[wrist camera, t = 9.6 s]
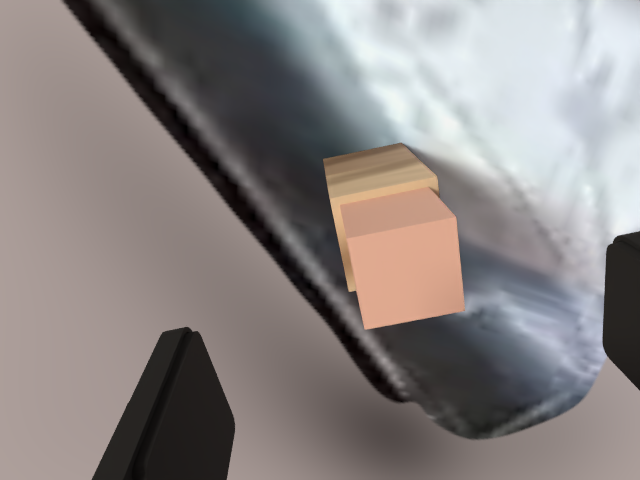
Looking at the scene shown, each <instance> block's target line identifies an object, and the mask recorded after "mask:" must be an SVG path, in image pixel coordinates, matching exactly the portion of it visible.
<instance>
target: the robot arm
mask: <svg viewBox="0 0 640 480" xmlns="http://www.w3.org/2000/svg"><path fill="white" fill-rule="evenodd" d="M603 347H604V350H605V353H606V354H607V356H608V357H609V359H610V360H611V361H612V362H613V363H614V364H615V365H616V366H617V367H618V368H619V369H620V370H621V371H622V372H623V373H624V374H625V376H627V378H628V379H629V380H630V381H631V382H632V383H633V384H634V385H635V386H636V387H637V388H638V389H639V390H640V231H639V232H634V233H629V234H625V235H620V236H617V237H616V238H615V239H614V241H613V244H610V245H609V246H608V247H607V251H606V272H605V295H604V318H603ZM234 433H235V422H234V417H233V414H232V411H231V409H230V406H229V404H228V401H227V399H226V397H225V394H224V392H223V389H222V387H221V384H220V382H219V379H218V377H217V374H216V372H215V369H214V367H213V364H212V362H211V359H210V357H209V354H208V352H207V349H206V347H205V345H204V342H203V339H202V337H201V335H200V334H199V332H198V331H195V332H192V330H191V329H190V328H189V327H184V328H179V329H175V330H169V331H165V332H163V333H162V334H161V336H160V338H159V340H158V342H157V344H156V346H155V348H154V351H153V353H152V355H151V357H150V359H149V361H148V363H147V365H146V368H145V370H144V372H143V374H142V376H141V378H140V381H139V382H138V385H137V387H136V389H135V391H134V393H133V395H132V397H131V399H130V401H129V403H128V404H127V406H126V409H125V411H124V413H123V415H122V417H121V419H120V421H119V423H118V425H117V428H116V430H115V432H114V434H113V436H112V438H111V440H110V442H109V444H108V447H107V449H106V451H105V453H104V455H103V457H102V459H101V461H100V464H99V466H98V468H97V470H96V472H95V474H94V476H93V478H92V480H227V475H228V468H229V462H230V457H231V451H232V445H233V439H234Z"/></svg>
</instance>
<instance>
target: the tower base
mask: <svg viewBox="0 0 640 480" xmlns="http://www.w3.org/2000/svg"><path fill="white" fill-rule="evenodd" d="M414 157H416V156H415V155H414V154H413V153H412V152H411V151H410V150H409V149H408V148H406V147H405V146H404V145H403V144H402V143H398V144H393V145H388V146H383V147H379V148H374V149H369V150H364V151H360V152H355V153H350V154H345V155H341V156H336V157H331V158H326V159H323V162H324V167H325V173H326V176H328V175H333V174H338V173H343V172H347V171H352V170H357V169H361V168H366V167H371V166H376V165H380V164H385V163H390V162H395V161H399V160H404V159H409V158H414Z"/></svg>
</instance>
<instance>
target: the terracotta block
mask: <svg viewBox="0 0 640 480" xmlns="http://www.w3.org/2000/svg"><path fill="white" fill-rule="evenodd" d="M340 209H341V215H342V220H343V225H344V230H345V235H346V240H347V245H348V250H349V255H350V260H351V266H352V271H353V276H354V281H355V286H356V290H357V295H358V300H359V305H360V309H361V314H362V319H363V323H364V328H365V330H366V329H371V328H376V327H381V326H387V325H392V324H397V323H403V322H408V321H413V320H419V319H424V318H429V317H435V316H440V315H445V314H451V313H456V312H461V311H465V306H464V295H463V285H462V274H461V263H460V253H459V242H458V231H457V220H456V216H455V215H454V214H453V213H452V212H451V211H450V210H449V209H448V207H447V206H446V205H445V204H444V203H443V202H442V201H441V200H440V199H439V198H438V197H437V195H436V194H435V193H434V192H433V191H432V190H431V189H430V188H429V187H425V188H420V189H415V190H410V191H405V192H400V193H395V194H390V195H385V196H380V197H375V198H371V199H366V200H361V201H356V202H351V203H346V204H341V205H340Z"/></svg>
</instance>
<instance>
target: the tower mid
mask: <svg viewBox="0 0 640 480" xmlns="http://www.w3.org/2000/svg"><path fill="white" fill-rule="evenodd" d="M326 180H327V186H328V191H329V197H330V202H331V207H332V212H333V217H334V221H335V226H336V231H337V236H338V241H339V245H340V250H341V255H342V260H343V265H344V270H345V274H346V279H347V284H348V289H349V292H351V291H356V286H355V281H354V276H353V271H352V266H351V260H350V255H349V250H348V245H347V240H346V235H345V230H344V225H343V220H342V215H341V209H340V205H341V204H346V203H351V202H356V201H361V200H366V199H371V198H375V197H380V196H385V195H390V194H395V193H400V192H405V191H410V190H415V189H420V188H425V187H429V188H430V189H431V190H432V191H433V192H434V193H435V194H436V195H437V197H438V198H439V199H440V197H439V188H438V179H437V176H436V175H435V174H434V173H433V172H432V171H431V170H430V169H429V168H428V167H427V166H426V165H424V164H423V163H422V162H421V161H420V160H419V159H418V158H417V157H414V158H409V159H404V160H399V161H395V162H390V163H385V164H380V165H376V166H371V167H366V168H361V169H357V170H352V171H347V172H343V173H338V174H333V175H328V176H326Z"/></svg>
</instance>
